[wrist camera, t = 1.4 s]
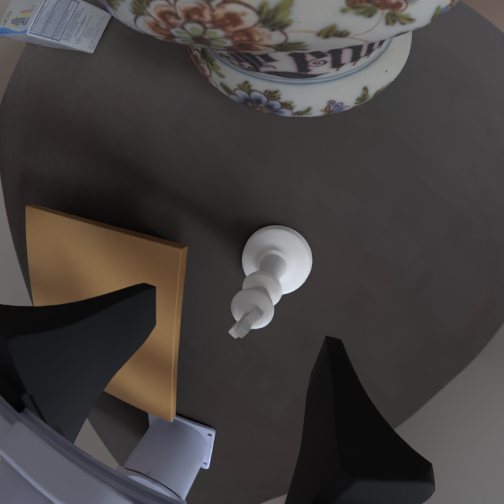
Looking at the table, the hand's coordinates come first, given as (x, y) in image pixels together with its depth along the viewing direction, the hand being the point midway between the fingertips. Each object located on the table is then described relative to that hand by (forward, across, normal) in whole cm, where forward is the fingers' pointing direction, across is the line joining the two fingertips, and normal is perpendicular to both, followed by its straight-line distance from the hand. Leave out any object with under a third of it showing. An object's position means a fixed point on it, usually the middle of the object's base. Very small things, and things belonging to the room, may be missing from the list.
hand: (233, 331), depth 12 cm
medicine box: (+11, +23, -17) cm, 31 cm away
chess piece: (+10, 0, +1) cm, 10 cm away
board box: (+9, +14, +9) cm, 19 cm away
